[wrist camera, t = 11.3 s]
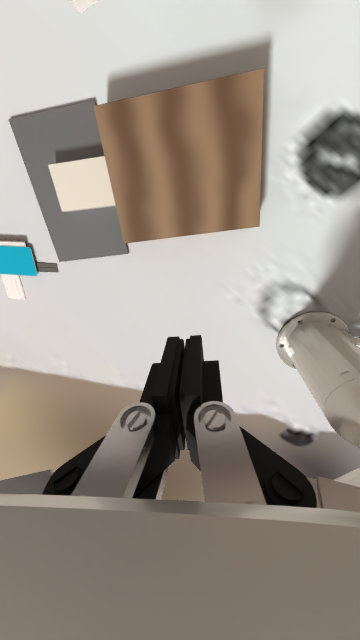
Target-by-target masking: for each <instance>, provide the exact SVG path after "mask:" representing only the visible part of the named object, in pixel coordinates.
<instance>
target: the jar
mask: <svg viewBox="0 0 360 640" xmlns="http://www.w3.org/2000/svg"><path fill="white" fill-rule="evenodd" d="M69 1H70V2H71V3H72V4H73V5H74V7H75V8H76V9H77V10H78V11H79V12H80V13H82V12H84V11H85V10H86V9H88V8H89V7H91V6H92V5H94V4H95V3H97V2H98V1H99V0H69Z"/></svg>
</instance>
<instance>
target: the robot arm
mask: <svg viewBox="0 0 360 640" xmlns="http://www.w3.org/2000/svg"><path fill="white" fill-rule="evenodd" d="M356 345H360V337H359V338H354V337H353V336H352V335H350V334H349V329H348V328H347V326H346V324H345V323H344V322H343V321H342V320H341V319H340V318H338V317H337V316H335V315H333V314H330V313H327V312H310V313H305V314H302V315H300V316H298V317H296V318H294V319H292V320H291V321H290V322H288V323H287V324H286V325H285V326H284V327H283V328H282V330H281V331H280V333H279V335H278V338H277V342H276V348H277V352H278V355H279V356H280V358H281V359H282V361H283V362H284V363H285V364H287V365H288V366H290V367H292V368H295V369H297V370H298V372H299V374H300V375H301V377H302V379H303V380H304V382H305V384H306V385H307V387H308V389H309V390H310V392H311V394H312V395H313V397H314V399H315V400H316V402H317V403H318V405H319V407H320V408H321V410H322V412H323V413H324V415H325V417H326V418H327V420H328V422H329V423H330V425H331V426H332V428H333V429H334V430H335V431H336V432H337V433H338V434H339V435H340V436H341V437H342V438H343V439H344V440H346V441H347V442H349V443H351V444H352V445H354V446H356V447H358V448H360V348H359V347H358V346H356ZM185 438H186V441H187V448H188V450H189V451H190V457H191V461H192V462H193V464H194V465H195V466H196V467H197V468H198V469H199V470H200V471H201V477H202V484H203V491H204V500H205V502H199V501H178V500H161V497H162V493H163V489H164V485H165V482H166V478H167V474H168V466H169V465H170V464H171V463H172V462H173V461H175V459H179V454H180V450H184V449H185ZM0 640H360V468H358V469H356V470H353V471H351V472H350V473H347V474H345V475H343V476H341V477H339V478H337V479H335V480H329V479H325V478H321V477H318V478H317V480H315V479H311V478H307V477H306V476H305V475H304V474H302V473H301V472H300V471H299V470H298V469H297V468H295V467H294V466H292V465H291V464H290V463H289V462H287V461H286V460H285V459H283V458H282V457H280V456H279V455H277V454H276V453H275V452H274V451H272V450H271V449H270V448H268V447H267V446H266V445H264V444H263V443H262V442H260V441H259V440H257V439H256V438H255V437H254V436H252V435H251V434H249V433H248V432H247V431H245V430H244V429H243V428H241V427H240V426H239V424H238V421H237V418H236V415H235V413H234V411H233V409H232V408H231V407H230V406H228V405H227V404H225V403H223V399H222V389H221V380H220V370H219V361H204V358H203V347H202V337H201V335H196V336H190V339H186V344H185V347H184V340H183V339H180V338H179V337H168V338H167V342H166V346H165V349H164V353H163V356H162V360H161V363H153V364H152V366H151V369H150V372H149V375H148V378H147V381H146V384H145V387H144V390H143V393H142V396H141V399H140V402H139V403H134V404H131V405H129V406H127V407H126V408H124V409H123V410H122V411H121V412H120V414H119V415H118V416H117V418H116V420H115V422H114V423H113V425H112V427H111V429H110V430H109V432H108V433H107V435H106V436H104V437H103V438H101V439H100V440H98V441H97V442H95V443H94V444H93V445H91V446H90V447H88V448H87V449H85V450H84V451H82V452H81V453H79V454H78V455H76V456H75V457H73V458H72V459H71V460H69V461H68V462H66V463H65V464H63V465H62V466H61V467H60V468H58V469H57V470H56V471H55V472H52V470H46V471H41V472H37V473H32V474H28V475H23V476H19V477H14V478H10V479H5V480H1V481H0Z"/></svg>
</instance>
